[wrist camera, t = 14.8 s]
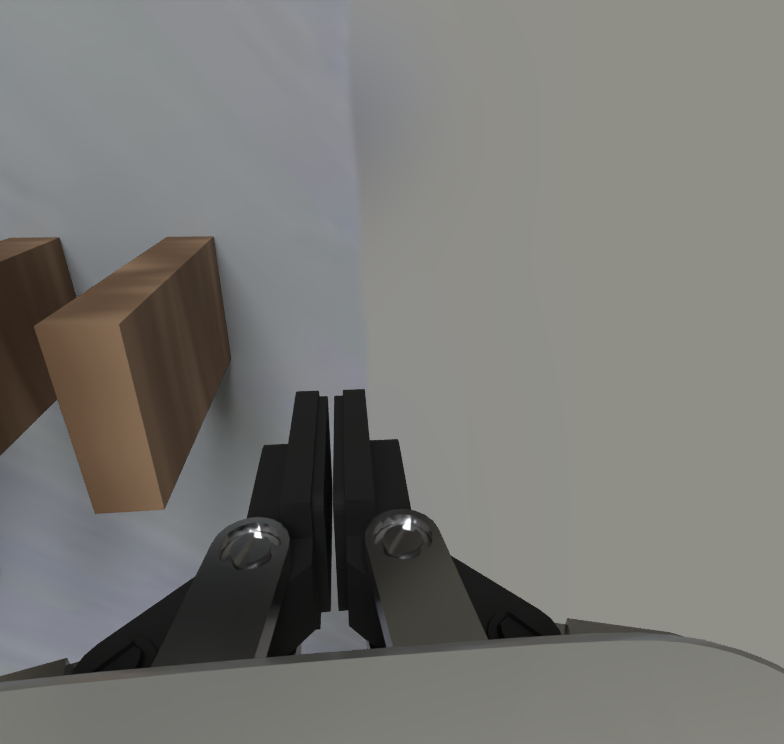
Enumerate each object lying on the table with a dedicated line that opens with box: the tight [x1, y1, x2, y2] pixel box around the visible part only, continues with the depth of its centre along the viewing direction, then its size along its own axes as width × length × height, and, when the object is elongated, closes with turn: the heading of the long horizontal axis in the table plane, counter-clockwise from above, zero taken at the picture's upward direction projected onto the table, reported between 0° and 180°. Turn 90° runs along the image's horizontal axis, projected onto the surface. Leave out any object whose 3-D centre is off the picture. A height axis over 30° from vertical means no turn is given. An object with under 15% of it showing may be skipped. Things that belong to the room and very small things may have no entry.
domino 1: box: [34, 237, 231, 514], centre depth 19 cm, size 2×6×11 cm, turn 0°
